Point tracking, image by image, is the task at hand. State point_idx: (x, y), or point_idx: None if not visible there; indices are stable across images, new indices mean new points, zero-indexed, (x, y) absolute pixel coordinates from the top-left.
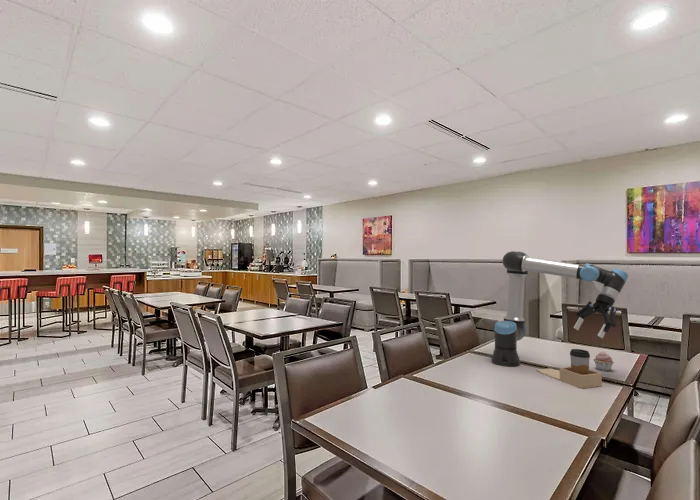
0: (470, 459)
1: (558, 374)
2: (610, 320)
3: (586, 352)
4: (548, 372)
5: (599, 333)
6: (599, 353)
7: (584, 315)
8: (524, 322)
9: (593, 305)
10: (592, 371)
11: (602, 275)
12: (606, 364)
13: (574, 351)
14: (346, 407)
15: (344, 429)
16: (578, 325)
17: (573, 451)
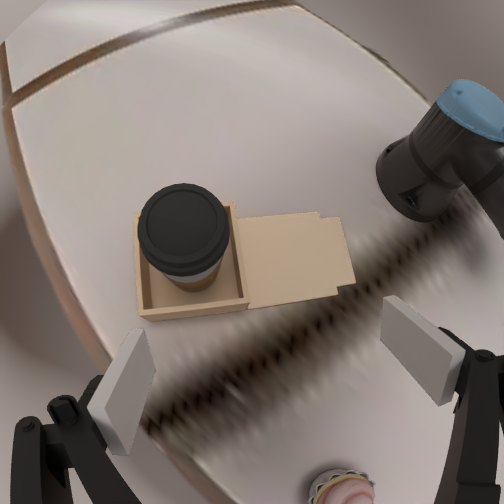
0: (60, 8)
1: (282, 254)
2: (35, 456)
3: (142, 228)
4: (306, 234)
5: (132, 340)
6: (362, 498)
7: (463, 408)
8: None
9: None
10: (175, 306)
11: None
12: (314, 492)
13: (176, 184)
14: None
15: None
16: (400, 337)
17: (11, 67)
